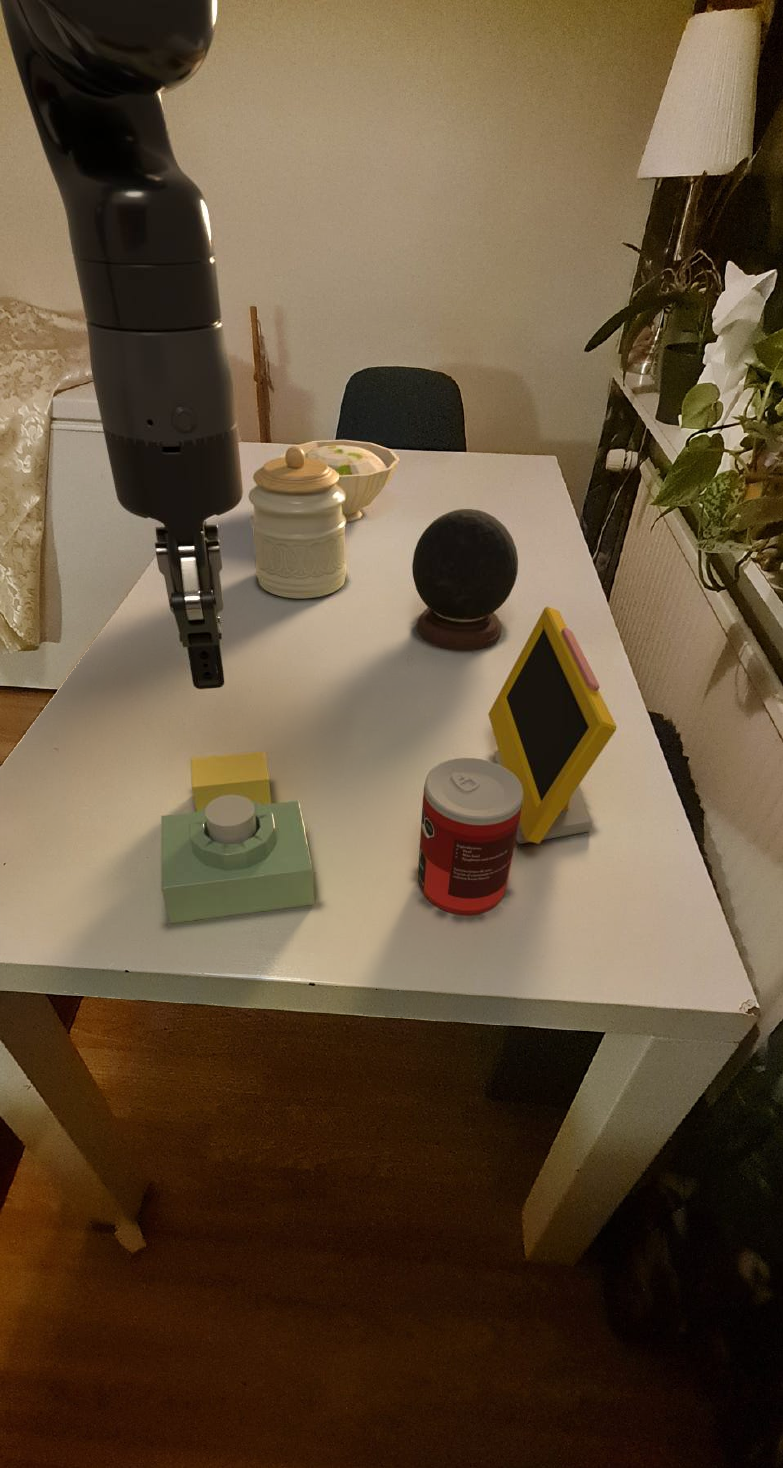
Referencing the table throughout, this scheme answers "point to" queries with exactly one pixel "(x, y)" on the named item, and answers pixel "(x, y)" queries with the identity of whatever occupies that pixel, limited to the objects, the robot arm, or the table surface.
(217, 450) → the robot arm
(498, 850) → the canned food
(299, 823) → the push button box
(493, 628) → the sphere on stand
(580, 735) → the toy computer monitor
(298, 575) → the jar
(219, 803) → the grey push button
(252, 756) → the sponge
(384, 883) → the table surface
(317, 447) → the bowl
